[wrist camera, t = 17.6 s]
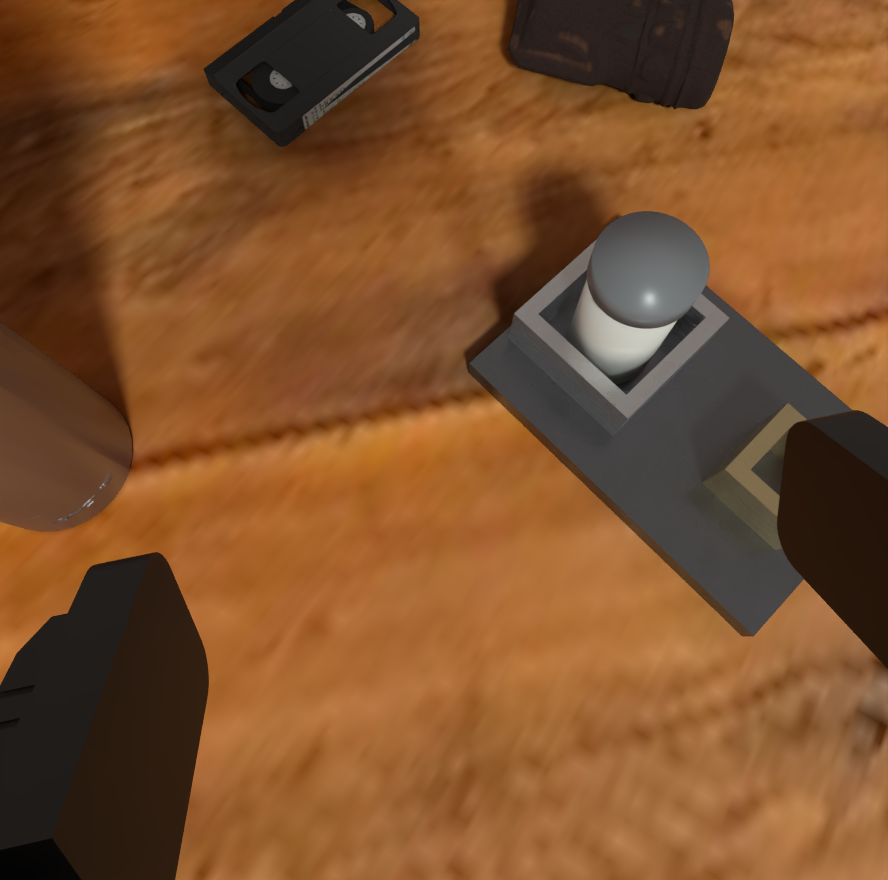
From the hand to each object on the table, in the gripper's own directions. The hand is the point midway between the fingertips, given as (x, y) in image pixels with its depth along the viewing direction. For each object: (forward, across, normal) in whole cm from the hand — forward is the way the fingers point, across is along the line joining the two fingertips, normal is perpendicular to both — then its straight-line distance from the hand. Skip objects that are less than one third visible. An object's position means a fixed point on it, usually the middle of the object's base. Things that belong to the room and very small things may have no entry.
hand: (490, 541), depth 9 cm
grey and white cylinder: (+33, -13, +12) cm, 38 cm away
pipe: (+52, -21, -4) cm, 57 cm away
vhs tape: (+54, +1, -5) cm, 54 cm away
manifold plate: (+30, -17, +17) cm, 39 cm away
